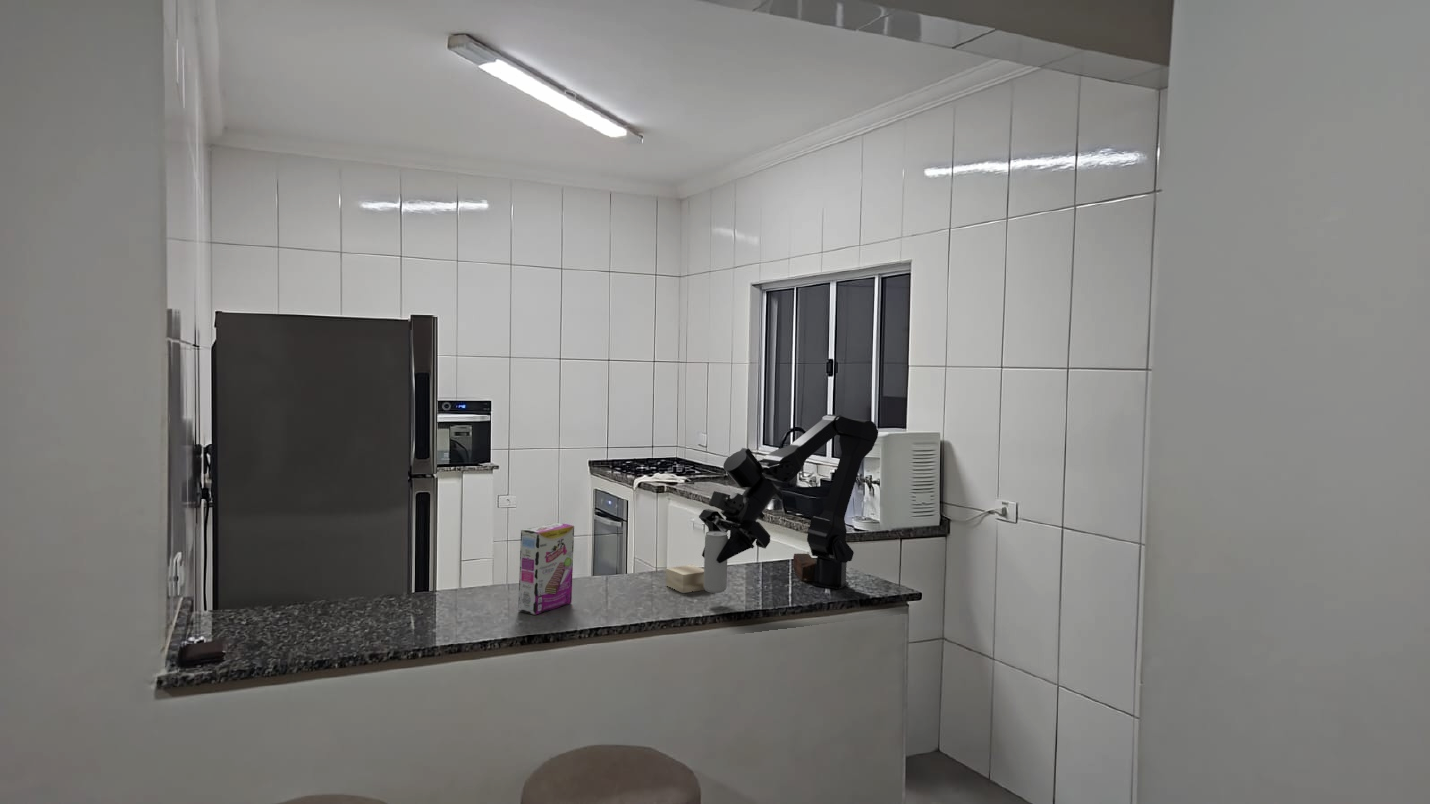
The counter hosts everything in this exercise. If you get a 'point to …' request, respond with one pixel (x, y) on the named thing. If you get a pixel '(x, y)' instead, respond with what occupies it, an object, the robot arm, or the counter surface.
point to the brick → (804, 567)
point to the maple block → (685, 578)
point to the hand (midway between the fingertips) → (710, 559)
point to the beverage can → (715, 562)
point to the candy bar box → (545, 568)
